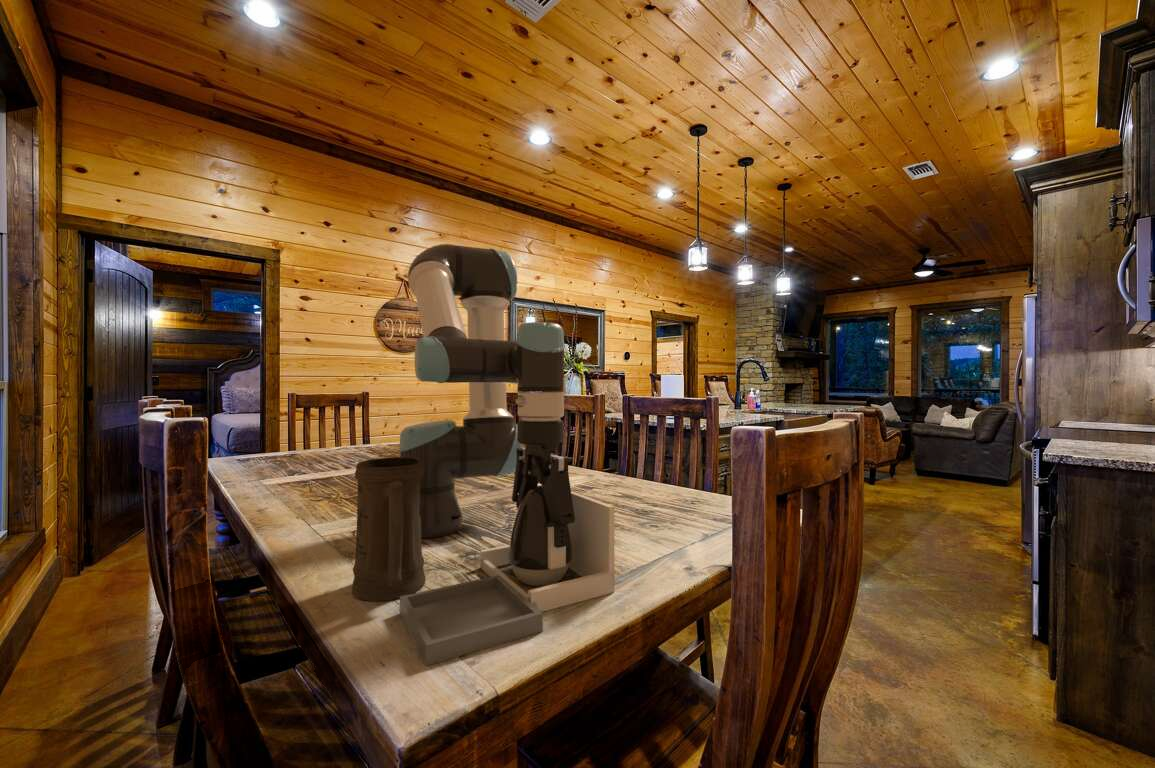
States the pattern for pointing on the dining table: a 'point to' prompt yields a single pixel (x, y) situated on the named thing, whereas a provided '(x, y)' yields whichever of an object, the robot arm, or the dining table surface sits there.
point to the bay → (588, 558)
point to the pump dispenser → (534, 542)
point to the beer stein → (388, 529)
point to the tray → (467, 618)
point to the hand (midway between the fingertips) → (540, 556)
